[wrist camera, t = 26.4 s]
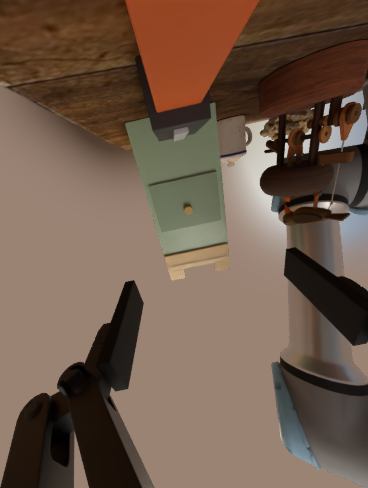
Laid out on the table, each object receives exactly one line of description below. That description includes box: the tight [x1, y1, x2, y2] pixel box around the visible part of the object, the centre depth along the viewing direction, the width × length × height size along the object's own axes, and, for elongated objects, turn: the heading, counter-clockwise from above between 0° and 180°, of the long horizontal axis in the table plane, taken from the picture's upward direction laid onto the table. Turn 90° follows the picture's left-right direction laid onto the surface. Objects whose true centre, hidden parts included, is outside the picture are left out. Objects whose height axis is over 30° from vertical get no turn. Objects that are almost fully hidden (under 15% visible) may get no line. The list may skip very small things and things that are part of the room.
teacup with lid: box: [217, 115, 252, 166], centre depth 50 cm, size 12×9×12 cm
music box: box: [259, 40, 368, 226], centre depth 25 cm, size 15×11×20 cm
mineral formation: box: [260, 109, 314, 140], centre depth 53 cm, size 8×13×15 cm
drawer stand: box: [125, 102, 230, 280], centre depth 39 cm, size 14×18×30 cm
